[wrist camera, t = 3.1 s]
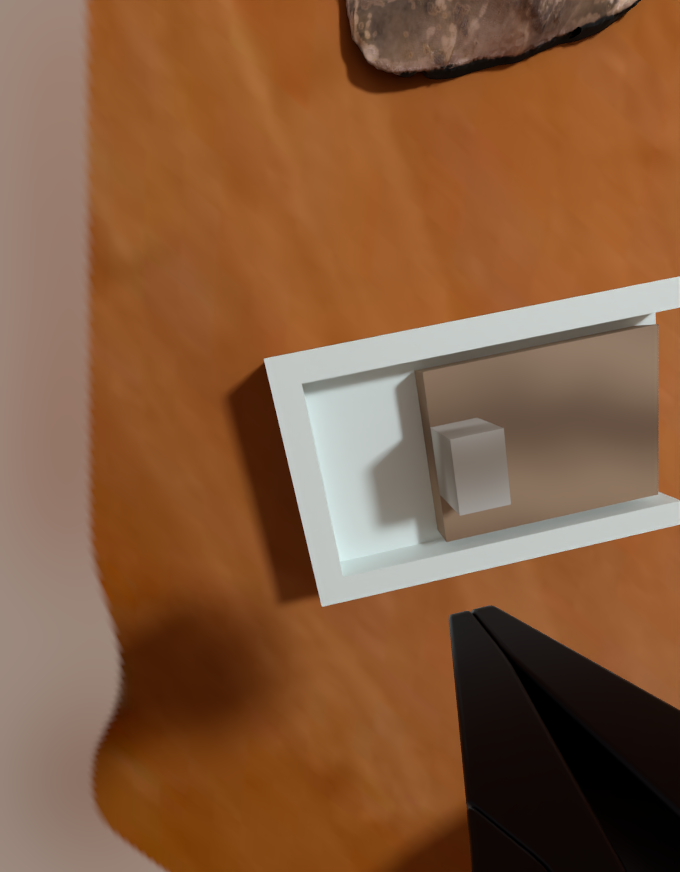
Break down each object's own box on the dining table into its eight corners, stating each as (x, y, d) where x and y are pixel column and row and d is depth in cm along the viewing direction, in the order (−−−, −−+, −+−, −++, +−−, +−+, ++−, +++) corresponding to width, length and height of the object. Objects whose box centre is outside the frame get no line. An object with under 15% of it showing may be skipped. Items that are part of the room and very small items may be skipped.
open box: (630, 501, 21) (680, 524, 18) (319, 571, 20) (321, 606, 17) (627, 286, 18) (683, 275, 15) (270, 357, 17) (263, 358, 15)
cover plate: (636, 485, 19) (707, 514, 16) (437, 529, 18) (466, 569, 15) (634, 325, 17) (713, 320, 14) (414, 370, 17) (441, 375, 13)
